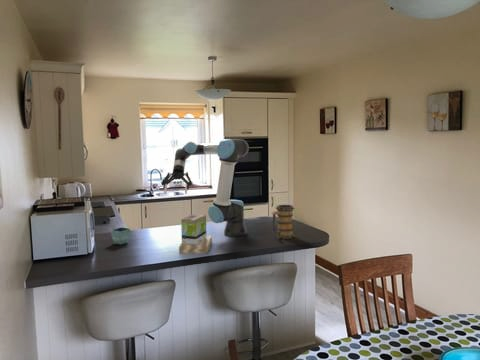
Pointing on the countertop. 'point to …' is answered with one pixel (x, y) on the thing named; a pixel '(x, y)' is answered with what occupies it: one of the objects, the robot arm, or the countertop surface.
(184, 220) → the tea box
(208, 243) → the birch stand
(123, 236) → the flower pot
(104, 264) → the countertop surface
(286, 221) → the mug
